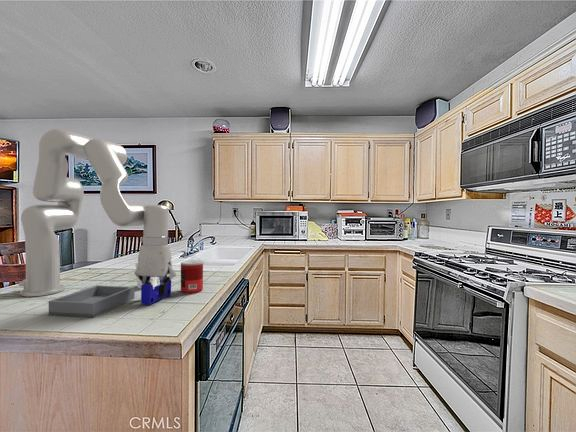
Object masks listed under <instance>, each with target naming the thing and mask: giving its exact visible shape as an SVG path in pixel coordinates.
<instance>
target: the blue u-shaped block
mask: <svg viewBox="0 0 576 432" xmlns="http://www.w3.org/2000/svg"><path fill="white" fill-rule="evenodd" d="M159 285H161V284H160V283H159V284H158V285H156V286H155V287H153V285H150V284H143V285H141V289H140V304H141V305H149V306H150V305H152V304H153V303H156V302H158V301H160V300H162V299H163V298H166V297H168V296H170V295H171V294H172V279H171V280H170V281H169V282H168V283H167V284H166V294H165V295H164V296H162V297H159Z"/></svg>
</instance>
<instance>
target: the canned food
mask: <svg viewBox="0 0 576 432" xmlns="http://www.w3.org/2000/svg"><path fill="white" fill-rule="evenodd" d="M203 286H204V261H203V260H201V259H189V260H183V261H181V262H180V292H181V293H183V294H188V295H189V294H190V295H192V294H198V293H201V292H202V291H203V289H204V287H203Z"/></svg>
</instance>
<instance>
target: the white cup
mask: <svg viewBox="0 0 576 432" xmlns="http://www.w3.org/2000/svg"><path fill="white" fill-rule="evenodd" d="M137 264H138V260H137V261H135V271H136V270H137ZM157 278H158V277H151V278H150V282H151V285H153V288H155V286H157V282H158V279H157ZM141 285H143V284H142V281H141V280H140V279H139V277H137V276H136V286H137V289H140V290H141Z"/></svg>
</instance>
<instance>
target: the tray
mask: <svg viewBox="0 0 576 432" xmlns="http://www.w3.org/2000/svg"><path fill="white" fill-rule="evenodd" d="M134 299H135V286H124V285H123V286H121V285H119V286H118V285H101V284H100V285H99V284H95V285H93V286H91V287H87V288H84V289H82V290H78V291H75V292H72V293H69V294H65V295H63V296H61V297H57V298H54V299H52V300H48V316H54V315H56V316H55V317H72V318H87V319H94V318H96V317H99V316H100V314H101V315H102V313H103V314H105V313H107V312H109V311H111V310H114V309H115V308H117V307H120V306H122V305H124V304H126V303H128V302H130V301H133V300H134Z"/></svg>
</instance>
